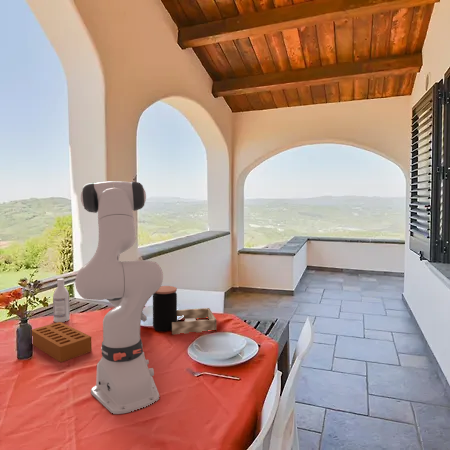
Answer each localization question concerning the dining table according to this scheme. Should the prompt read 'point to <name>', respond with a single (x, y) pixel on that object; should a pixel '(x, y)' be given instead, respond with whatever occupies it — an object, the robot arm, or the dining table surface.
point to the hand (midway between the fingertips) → (145, 319)
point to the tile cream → (190, 319)
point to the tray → (194, 325)
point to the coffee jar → (164, 308)
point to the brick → (61, 341)
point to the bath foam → (61, 302)
